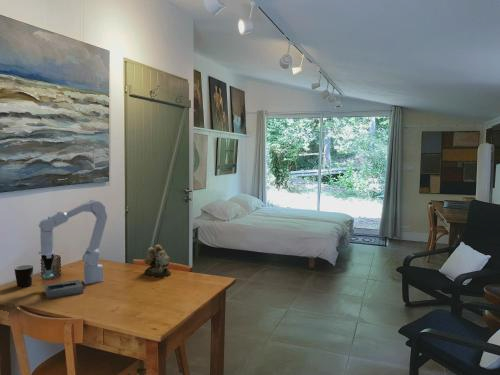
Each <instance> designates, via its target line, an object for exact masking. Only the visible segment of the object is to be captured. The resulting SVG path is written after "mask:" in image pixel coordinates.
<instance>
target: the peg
mask: <svg viewBox="0 0 500 375" xmlns="http://www.w3.org/2000/svg"><path fill="white" fill-rule="evenodd" d="M44 270H45V271H44V274H42V279H51V278H54V273H51V272H52V271H51V270H52V269H51V270H46V269H45V268H44Z"/></svg>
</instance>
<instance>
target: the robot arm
mask: <svg viewBox="0 0 500 375" xmlns="http://www.w3.org/2000/svg"><path fill="white" fill-rule="evenodd" d="M83 212H86V213H87V212H88V213H92V214H93V216H94V217H95V223H94V227H93V230H92V234H91V237H90V241H89V245H88V247H87V248H86V251H85V252H84V253H83V255H82V261H83V262H84V264H83V278H82V282H83V283H84V284H85V285H88V284H95V283H101V282H104V266H103V264H102V263H100V245H101V241H102V238H103V234H104V231H105V227H106V224H107V219H108V215H107V211H106V205H104V203H103V202H101V201H100V200H96V199H90V200H89V201H85V202H82V203H81V204H79V205H77V206H76V207H73V208H72V209H70V210H67V211H66V212H65V211H61V212H60V211H57V212H56V214H53V215H52V216H48V217H47V218H44V219H42V220H40V221H39V224H38V228H40V231H39V232H40V234H39V235H40V238H39V239H40V251H38V252H37V253H38V255H40V258H41V259H42V261H43V266H44V270H45V269H46V270H52V265H53V262H54V259H55V256H54V253H55V249H54V231H53V230H54V229H55V228H56V227H59V226H61V225H63V224H65V223H68V221H69V219H70V218H72V217H74V216H76V215H78V214H80V213H81V214H82V213H83Z"/></svg>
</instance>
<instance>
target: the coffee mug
mask: <svg viewBox="0 0 500 375" xmlns="http://www.w3.org/2000/svg"><path fill="white" fill-rule="evenodd" d="M14 274H15V279H16V280H15V282H16V285H17V288H19V289H25V288H29V287H31V286H32V284H33V274H34V265H33V264H24V265H23V264H22V265H18V266H15V267H14Z"/></svg>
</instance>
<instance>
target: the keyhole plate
mask: <svg viewBox="0 0 500 375" xmlns="http://www.w3.org/2000/svg"><path fill="white" fill-rule="evenodd" d="M44 294H45V295H46V299H47V300H50V299H56V298H61V297H67V296H73V295H79V294H84V285H83V284H82V282H81V280H80V279H75V280H68V281H61V282H55V283H49V284H44Z"/></svg>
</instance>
